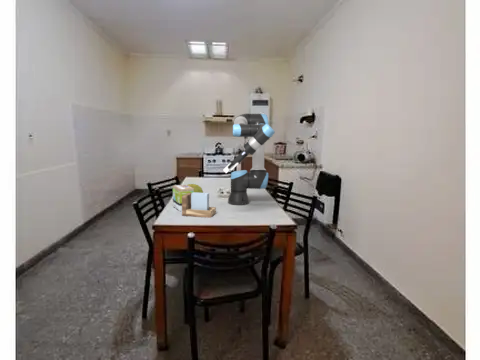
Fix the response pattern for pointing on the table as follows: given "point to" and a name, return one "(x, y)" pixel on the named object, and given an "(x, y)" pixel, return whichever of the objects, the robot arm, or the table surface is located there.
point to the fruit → (196, 188)
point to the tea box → (180, 195)
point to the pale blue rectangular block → (200, 201)
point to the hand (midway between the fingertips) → (227, 170)
